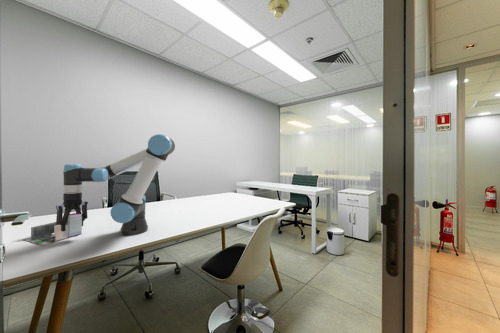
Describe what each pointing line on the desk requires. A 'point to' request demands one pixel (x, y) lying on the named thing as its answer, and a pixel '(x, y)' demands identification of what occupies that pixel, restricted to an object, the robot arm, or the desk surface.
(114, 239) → the desk surface
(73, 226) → the supplement box
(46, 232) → the gauge base
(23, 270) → the desk surface
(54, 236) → the plunger
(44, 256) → the desk surface
